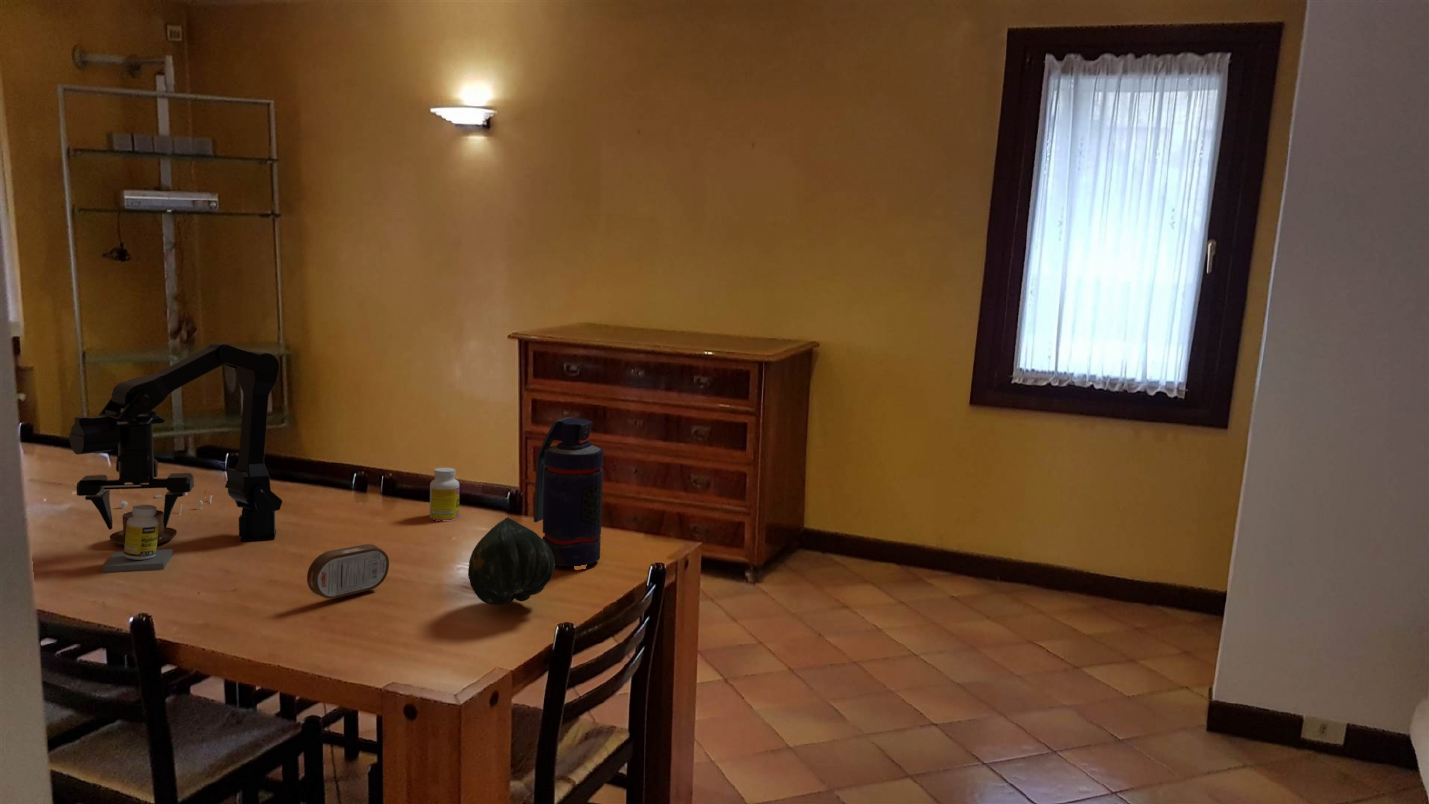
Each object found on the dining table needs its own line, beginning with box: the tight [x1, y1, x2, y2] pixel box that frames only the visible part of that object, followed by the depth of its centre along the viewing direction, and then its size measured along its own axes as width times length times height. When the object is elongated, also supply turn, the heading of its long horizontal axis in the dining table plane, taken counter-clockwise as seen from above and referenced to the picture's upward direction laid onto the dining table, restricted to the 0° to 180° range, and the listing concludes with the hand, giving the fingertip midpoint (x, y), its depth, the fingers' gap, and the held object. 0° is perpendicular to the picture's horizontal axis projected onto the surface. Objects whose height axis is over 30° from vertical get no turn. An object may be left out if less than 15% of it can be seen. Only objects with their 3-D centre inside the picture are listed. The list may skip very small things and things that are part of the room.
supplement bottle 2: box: [429, 467, 460, 521], centre depth 226 cm, size 7×7×13 cm
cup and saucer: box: [109, 509, 178, 547], centre depth 200 cm, size 12×12×6 cm
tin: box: [306, 543, 390, 600], centre depth 175 cm, size 15×3×8 cm, turn 141°
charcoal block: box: [102, 548, 174, 574], centre depth 187 cm, size 10×10×2 cm
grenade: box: [533, 416, 605, 567], centre depth 198 cm, size 14×12×30 cm
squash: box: [467, 517, 556, 606], centre depth 172 cm, size 14×15×15 cm
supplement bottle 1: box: [123, 504, 159, 560], centre depth 186 cm, size 5×5×10 cm
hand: (138, 527), depth 186 cm, fingers open, 9 cm apart
